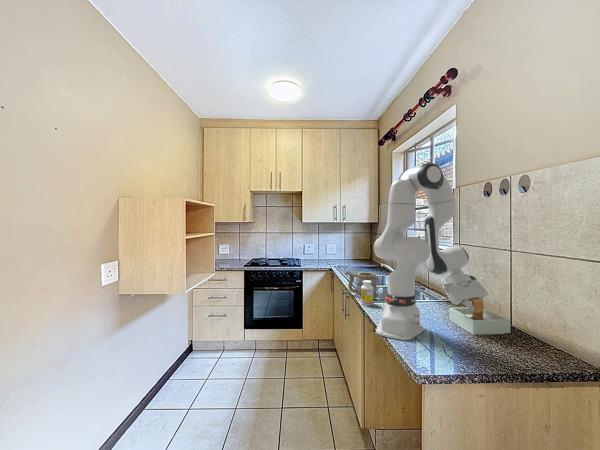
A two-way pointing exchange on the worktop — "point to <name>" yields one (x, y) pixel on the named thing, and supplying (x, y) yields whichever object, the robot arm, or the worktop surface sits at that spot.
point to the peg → (479, 311)
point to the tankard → (360, 279)
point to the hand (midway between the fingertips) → (478, 309)
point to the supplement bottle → (367, 293)
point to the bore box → (479, 321)
